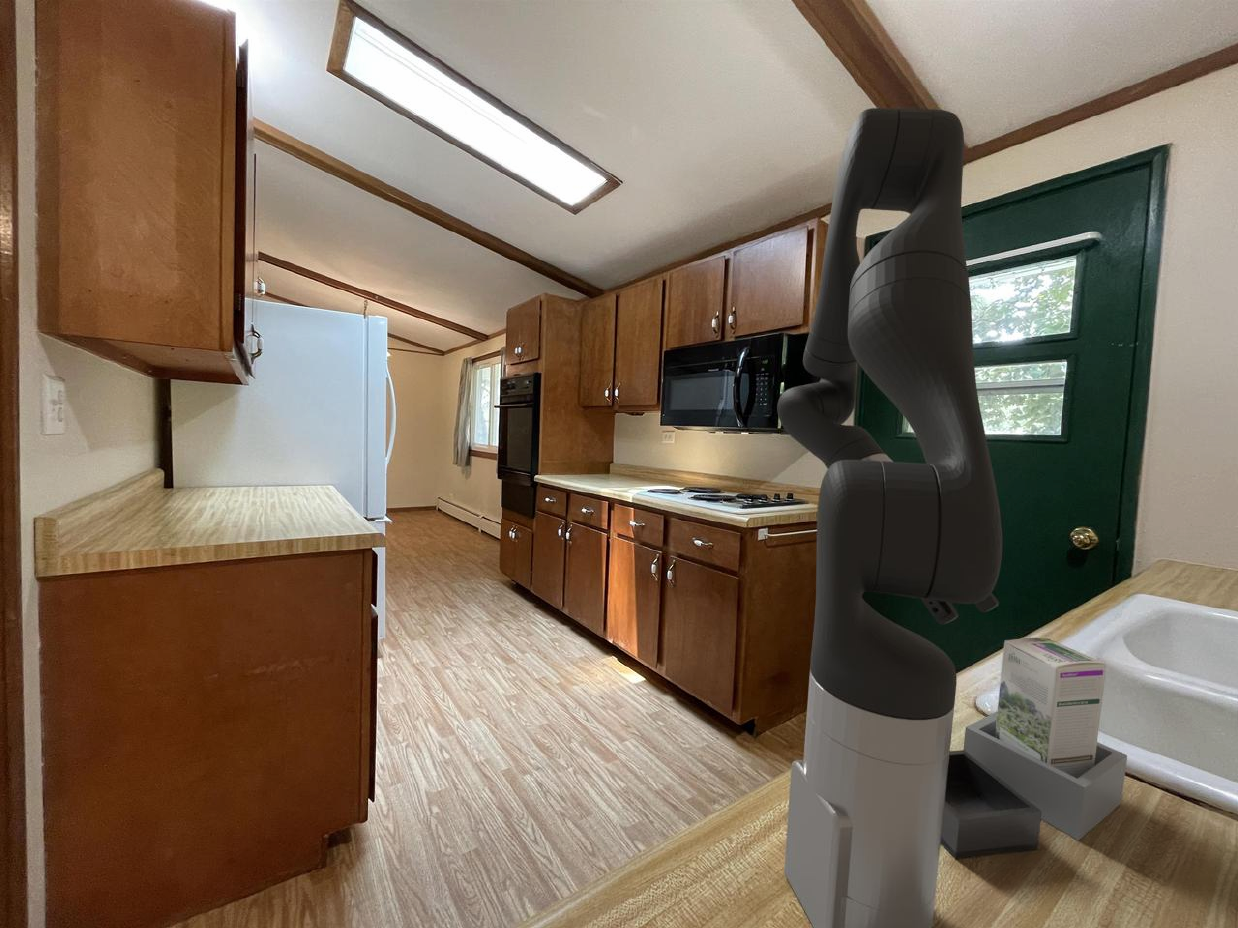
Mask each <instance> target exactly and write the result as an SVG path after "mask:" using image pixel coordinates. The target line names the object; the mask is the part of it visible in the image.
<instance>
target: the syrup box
mask: <svg viewBox="0 0 1238 928" xmlns="http://www.w3.org/2000/svg"><path fill="white" fill-rule="evenodd" d="M1003 641H1004V642H1003V651H1002V660H1001V661H1002V662H1001V669H1000V671H1001V672H1000V682H999V690H998V691H999V692H998V703H997V704H998V705H997V711H996V712H997V722H996V732H995V738H997V739H999V740H1001V741H1003V742H1005V743H1007V744H1009V745H1011V746H1013V747H1015V748H1017V749H1019V750H1021V751H1023V752H1025V753H1027V754H1029V755H1031V756H1033V757H1035V758H1037V759H1039V760H1041V761H1043V762H1045V763H1047V764H1049V765H1051V766H1053V767H1055V768H1057V769H1059V770H1061V771H1063V772H1065V773H1067V774H1069V775H1071V776H1073V777H1075V778H1077V779H1078V778H1079V777H1081V776H1082V775H1083V774H1085V773H1086V772H1087V771H1089V770H1090V769H1091V768H1093V767H1094V763H1095V754H1096V746H1097V742H1098V736H1099V729H1100V722H1101V721H1100V720H1101V713H1102V705H1103V701H1104V700H1103V699H1104V698H1103V697H1104V692H1105V691H1104V690H1105V681H1106V673H1107V664H1106V663H1105V662H1103V661H1101V660H1098V659H1095V658H1094V657H1091V656H1089V655H1087V654H1085V653H1082V652H1080V651H1077V650H1075V649H1074V648H1072V647H1068V646H1067V645H1065V644H1062V643H1060V642H1057V641H1055V640H1053V639H1050V638H1046V637H1023V638H1015V639H1014V638H1013V639H1005V640H1003Z"/></svg>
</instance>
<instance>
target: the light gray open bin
mask: <svg viewBox="0 0 1238 928" xmlns="http://www.w3.org/2000/svg"><path fill="white" fill-rule="evenodd" d="M996 722H997V711H995V712H993V713H991V714H990V715H987V716H985V717H983V718H982V719H978V720H977V721H974V722H973V723H970V724H969V725H967V726H965V730H964V731H965V732H964V740H963V749H962V750H964V751H966V752H967V753H968V754H969V755H971V756H972V757H973V758H975V759H976V760H977V761H978V762H980V763H981V764H982V765H983V766H985V767H986V768H987V769H988V770H990V771H991V772H992V773H994V774H995V775H996V776H997V777H999V778H1000V779H1001V780H1002V781H1004V782H1005V783H1006V784H1008V785H1009V786H1010V787H1011V788H1013V789H1014V790H1015V791H1016V792H1018V793H1019V794H1020V795H1022V796H1023V797H1024V798H1025V799H1027V800H1028V801H1029V802H1030V803H1032V804H1033V805H1034V806H1036V807H1037V808H1038V809H1039V810H1041V811H1042V814H1041V821H1044V822H1045V823H1047V824H1049V825H1050V826H1052V827H1054V828H1055V829H1058V830H1060V832H1063V833H1064V834H1066V835H1068V836H1069V837H1071V838H1073V839H1074V840H1077V841H1080V840H1081V839H1082V838H1083V837H1085V836H1086V835H1087V834H1088V833H1089V832H1090V831H1091V830H1092V829H1094V828H1095V827H1096V826H1097V825H1098V824H1100V822H1102V821H1103V820H1105V818H1107V817H1108V816H1109V815H1110V814H1111V813H1112V812H1113V811H1115V810H1116V808H1117V807H1119V806H1120V805H1121V804H1122V798H1123V792H1124V791H1123V790H1124V783H1125V775H1126V769H1127V768H1126V767H1127V761H1128V754H1125V753H1123V752H1121V751H1119V750H1116V749H1114V748H1111V747H1109V746H1108V745H1105V744H1103V743H1100V742H1098V741H1097V746H1096V754H1095V763H1094V767H1093V768H1091V769H1090V770H1089V771H1087V772H1086V773H1085V774H1083V775H1082V776H1081V777H1079V778H1078V779H1077V778H1075V777H1073V776H1071V775H1069V774H1067V773H1065V772H1063V771H1061V770H1059V769H1057V768H1055V767H1053V766H1051V765H1049V764H1047V763H1045V762H1043V761H1041V760H1039V759H1037V758H1035V757H1033V756H1031V755H1029V754H1027V753H1025V752H1023V751H1021V750H1019V749H1017V748H1015V747H1013V746H1011V745H1009V744H1007V743H1005V742H1003V741H1001V740H999V739H997V738H995V732H996Z"/></svg>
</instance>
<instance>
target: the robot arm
mask: <svg viewBox="0 0 1238 928" xmlns="http://www.w3.org/2000/svg"><path fill="white" fill-rule="evenodd" d="M964 135H965V134H964V128H963V123H962V121H961V120H960V118H959V117H958V115H957V114H955V113H953V112H951V111H947V110H945V109H944V110H943V109H934V108H930V109H929V108H928V109H927V108H926V109H925V108H897V107H895V108H894V107H873V108H872V107H871V108H867V109H865V110H863V111H862V112H860V113H859V115H858V116H857V117H856V119H855V120H854V122H853V123H852V125H851V127H850V130H849V131H848V135H847V137H846V140H845V143H844V146H843V149H842V152H841V158H840V162H839V166H838V170H837V175H836V180H835V186H834V191H833V198H832V203H831V209H830V215H829V219H828V220H829V221H828V228H827V234H826V241H825V247H824V253H823V259H822V268H821V275H820V283H819V291H818V294H817V295H818V296H817V301H816V306H815V310H814V315H813V318H812V322H811V325H810V328H809V333H808V336H807V340H806V343H805V348H804V350H803V351H804V352H803V357H802V365H803V367H804V369H805V370H806V371H807V372H808V373H809V374H811V375H812V376H813V377H817V378H820V380H819V381H817V382H814V383H808V384H803V385H798V386H793V387H790V388H788V389H786V390H785V391H784V392H783V393H782V394H781V395H780V396H779V398H778V401H777V406H776V407H777V409H776V410H777V415H778V419H779V422H780V424H781V425H782V427H783V428H784V430H785V431H786V432H787V433H788V435H790V436H791V437H792V438H793V439H794V440H795V441H796V442H798V443H799V445H801V446H802V447H804V448H805V449H806V450H807V451H808V452H810V453H811V454H812V455H813V456H815V457H816V458H818V459H819V460H820V461H821V462H822V463H823V464H824V466H825V467H826V472H825V474H824V476H823V477H822V480H821V485H820V487H819V493H818V494H819V495H818V502H817V513H816V514H817V515H816V516H817V517H816V573H815V576H816V577H815V578H816V581H815V585H816V586H815V591H816V592H815V593H816V594H815V608H814V624H813V634H812V641H811V642H812V644H811V645H812V647H811V654H810V665H809V679H808V692H807V693H808V694H807V708H806V720H805V733H804V746H803V747H804V748H803V758H802V759H799V760H797V759H796V760H793V761H792V762H791V763H792V764H791V770H790V783H789V795H788V796H789V798H788V812H787V822H786V823H787V826H786V839H785V840H786V841H785V842H786V843H785V852H784V853H785V857H784V865H783V866H784V870H783V871H784V875H785V877H786V879H787V881H788V882H789V884H790V886H791V888H792V890H793V891H794V893H795V895H796V897H797V900H798V901H799V903H800V905H801V907H802V908H803V911H804V912H805V915H806V917H807V918H808V920H809V921H810V923H811V925H812V928H933V925H934V924H933V922H934V913H935V903H936V891H937V881H938V871H939V864H940V863H939V862H940V851H941V833H942V823H943V813H944V803H945V793H946V783H947V772H948V762H949V752H950V751H951V745H952V744H951V743H952V733H953V732H952V731H953V724H954V723H953V722H954V713H955V712H954V711H955V703H956V702H955V701H956V694H957V693H956V692H957V680H958V679H957V672H956V671H957V670H956V667H955V665H954V663H953V661H952V660H951V658H950V657H949V656H948V654H946V652H944V650H942V649H941V648H940V647H939V646H937V645H936V644H935V643H933V642H932V641H930V640H929V639H927V638H925V637H923V636H921V635H920V634H917V633H915V632H914V631H911V630H909V629H907V628H904V627H903V626H901V625H900V624H897V623H895V622H893V621H891V619H888V618H887V617H885V616H883V615H882V614H880V613H879V612H878V611H877V610H875V608H873V607H872V606H870V605H869V604H868V603H867V602H866V601H865V600H864V598H863V595H864V593H865V592H872V593H877V594H883V595H884V594H885V595H891V596H898V597H899V596H900V597H907V598H912V599H919V600H921V601H922V603H923V604H924V605H925V607H926V609H927V610H928V611H929V613H930V614H931V616H932V617H933V618H934V620H936V623H938V624H939V625H946V624H949V623H950V622H952V621H954V620H956V619H957V618H958V617H959V612H958V611H957V609H956V608H955V607H954V605H953V604H959V605H960V604H961V605H962V604H963V605H966V604H967V605H971V604H974V606H975V607H976V609H977V610H978V611H979V612H981V613H986V612H988V611H991V610H993V609H995V608H997V607H998V606H999V605H1000V601H999V600H998V599H997V597H996V596H995V595H994V593H992V592H993V591H994V589H995V588H996V584H997V582H998V579H999V576H1000V572H1001V567H1002V566H1001V564H1002V559H1003V558H1002V557H1003V529H1002V520H1001V508H1000V503H999V498H998V497H999V496H998V491H997V486H996V480H995V475H994V470H993V466H992V461H991V457H990V456H991V455H990V451H989V447H988V441H987V436H986V431H985V428H984V427H985V425H984V423H983V422H984V421H983V417H982V413H981V407H980V401H979V395H978V387H977V380H976V369H975V367H976V366H975V356H974V355H975V354H974V340H973V337H974V336H973V310H972V309H973V308H972V298H971V288H970V287H971V286H970V276H969V271H968V265H967V259H966V254H965V253H966V252H965V251H966V250H965V241H964V240H965V239H964V231H963V228H964V227H963V219H962V216H963V215H962V199H963V197H962V194H963V192H962V191H963V175H964V173H963V172H964V157H965V155H964V154H965V136H964ZM862 210H876V211H892V212H905V213H908V214H909V215H908V216H907V217H906V218H905V219H904V220H903V221H901V222H900V223H899V224H898V225H897V226H896V227H894V228H893V229H892V230H891V231H890V232H889V233H887V235H885V236H884V237H883V238H882V239H881V240H880V241H879V242H878V243H877V244H876V245H874V247H872V248H871V249H870V251H868V253H867V254H866V256H865V257H864V258H863V259H862V261H861V260H860V256H859V252H858V244H857V230H858V229H857V228H858V221H859V217H860V212H861V211H862ZM858 365H859V366H860V367H861V369H862V370H863V372H864V373H865V374H866V375H867V377H868V378H869V379H870V380H871V381H872V382H873V384H875V385H876V387H877V388H878V389H879V390H880V391H881V392H882V393H883V394H884V395H885V396H886V398H888V400H889V401H890V402H891V403H893V405H894V406H895V407H896V409H897V410H899V412H900V413H901V414H902V415H903V416H904V418H905V420H906V421H907V423H908V424H909V426H910V428H911V429H912V431H913V432H914V435H915V437H916V439H917V441H918V444H919V446H920V448H921V449H920V450H921V451H922V454H923V458H924V460H925V463H921V462H919V463H917V462H906V461H905V462H902V461H893V460H892V459H891V458H890V457H889V455H887V454H886V452H885V451H884V450H883V449H882V448H881V446H880V445H879V444H878V442H877V441H876V440H875V439H874V437H873V436H872V435H871V434H870V433H869V432H868V431H867V429H865V428H863V427H861V426H858V425H850V424H849V425H847V424H845V422H846V421H848V419H849V418H850V417H851V415H852V414H853V412H854V409H855V406H856V399H857V396H856V394H857V379H858V378H857V377H858V376H857V373H858V372H857V371H858V370H857V367H858Z"/></svg>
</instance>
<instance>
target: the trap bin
mask: <svg viewBox="0 0 1238 928" xmlns="http://www.w3.org/2000/svg"><path fill="white" fill-rule="evenodd" d="M1041 814H1042V811H1041V810H1039V809H1038V808H1037V807H1036V806H1034V805H1033V804H1032V803H1030V802H1029V801H1028V800H1027V799H1025V798H1024V797H1023V796H1022V795H1020V794H1019V793H1018V792H1016V791H1015V790H1014V789H1013V788H1011V787H1010V786H1009V785H1008V784H1006V783H1005V782H1004V781H1002V780H1001V779H1000V778H999V777H997V776H996V775H995V774H994V773H992V772H991V771H990V770H988V769H987V768H986V767H985V766H983V765H982V764H981V763H980V762H978V761H977V760H976V759H975V758H973V757H972V756H971V755H969V754H968V753H967V752H966V751H964V750H963V749H962V750H950V752H949V762H948V772H947V783H946V793H945V803H944V813H943V823H942V833H941V843H940V845H942V846H943V848H944V849H945V850H946V851H947V852H948V853H949V854H950V856H952V857H953V858H954V859H955V860H958V859H961V860H962V859H966V858H967V859H968V858H975V857H978V858H979V857H985V856H993V855H1003V854H1011V853H1019V852H1028V851H1035V850H1036V851H1037V850H1038V848H1039V847H1038V846H1039V837H1040V828H1041V823H1042V822H1041V821H1042V819H1041Z"/></svg>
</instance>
